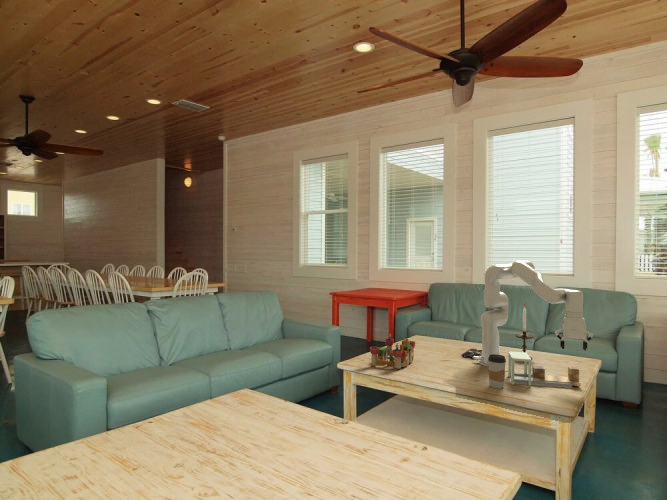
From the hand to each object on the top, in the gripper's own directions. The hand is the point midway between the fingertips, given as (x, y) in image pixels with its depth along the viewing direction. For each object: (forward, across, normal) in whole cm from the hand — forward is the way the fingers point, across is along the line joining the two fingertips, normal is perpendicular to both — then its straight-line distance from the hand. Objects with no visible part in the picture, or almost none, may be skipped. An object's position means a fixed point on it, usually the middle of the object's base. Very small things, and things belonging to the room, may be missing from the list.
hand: (573, 349), depth 214 cm
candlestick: (+19, -16, +49) cm, 55 cm away
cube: (+16, -16, 0) cm, 22 cm away
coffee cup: (+18, -37, -13) cm, 43 cm away
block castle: (+19, -93, +18) cm, 96 cm away
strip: (+17, -8, 0) cm, 19 cm away
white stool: (+18, -25, 0) cm, 31 cm away
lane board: (+18, -15, 0) cm, 24 cm away
